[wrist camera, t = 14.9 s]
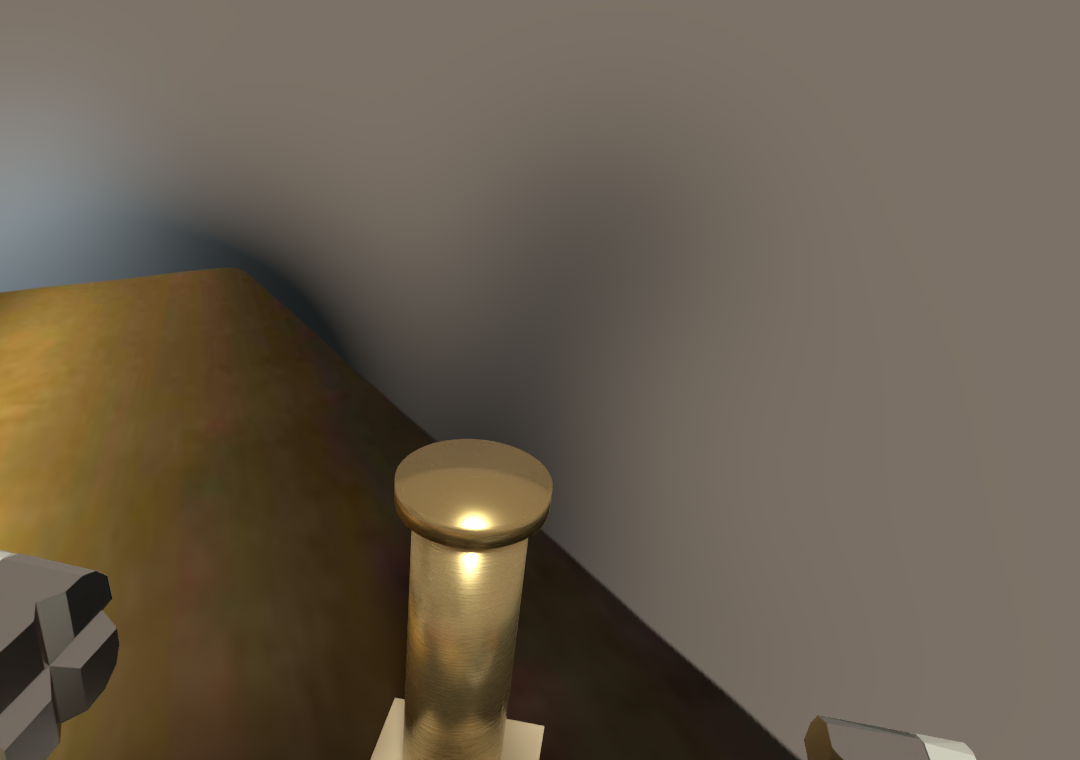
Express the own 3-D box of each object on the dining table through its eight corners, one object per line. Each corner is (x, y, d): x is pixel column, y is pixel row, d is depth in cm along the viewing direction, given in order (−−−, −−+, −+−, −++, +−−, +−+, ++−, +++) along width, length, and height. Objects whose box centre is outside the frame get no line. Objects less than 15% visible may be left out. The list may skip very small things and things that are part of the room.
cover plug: (368, 825, 34) (372, 509, 27) (408, 716, 40) (420, 429, 33) (500, 852, 34) (540, 539, 27) (522, 739, 39) (561, 452, 32)
